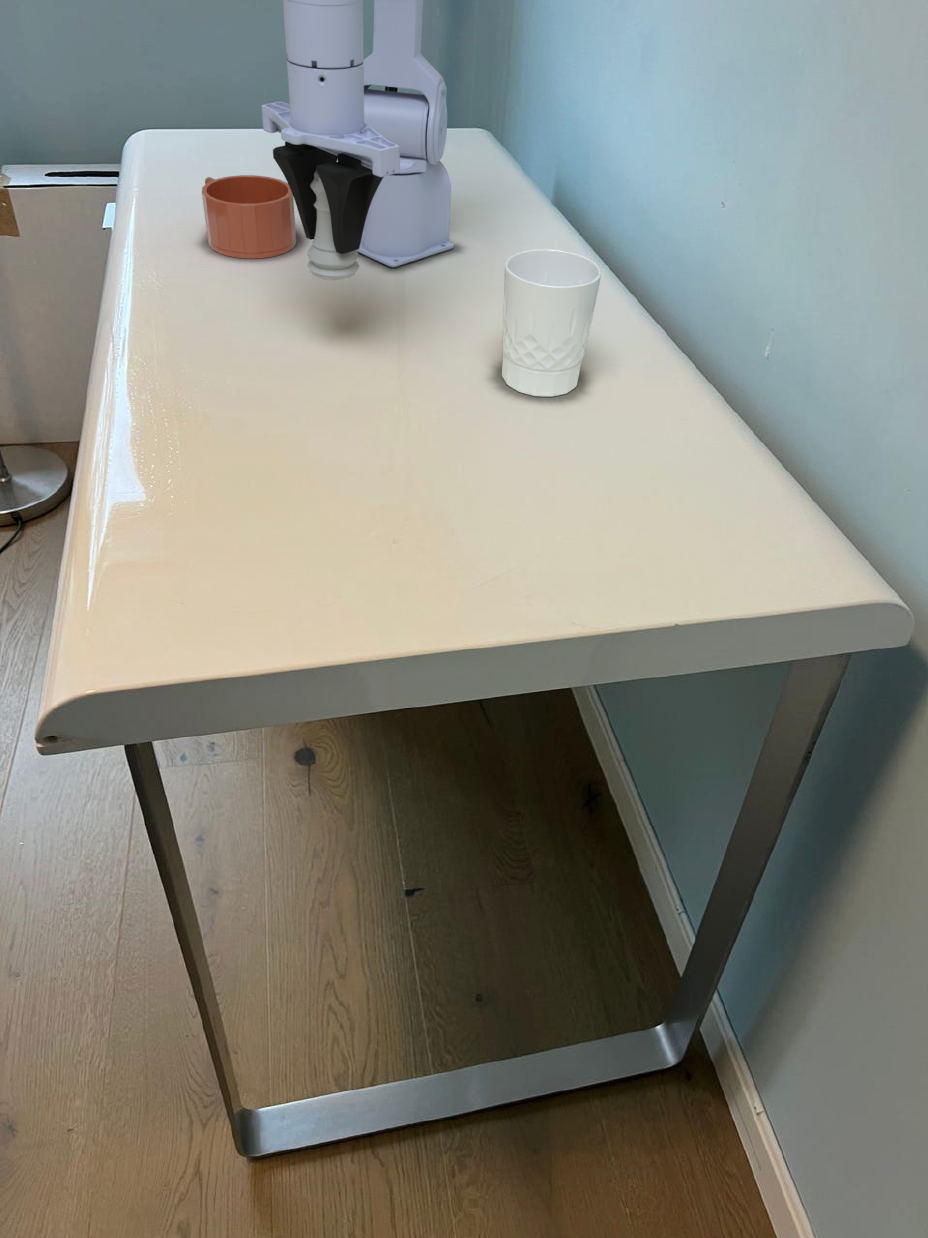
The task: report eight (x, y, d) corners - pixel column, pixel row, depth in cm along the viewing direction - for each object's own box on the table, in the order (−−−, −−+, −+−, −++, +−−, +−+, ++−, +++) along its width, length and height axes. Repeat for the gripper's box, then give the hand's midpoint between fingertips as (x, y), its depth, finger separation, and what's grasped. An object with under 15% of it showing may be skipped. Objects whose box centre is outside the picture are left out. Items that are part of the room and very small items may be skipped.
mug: (313, 245, 103) (310, 192, 99) (242, 265, 98) (236, 211, 94) (246, 212, 109) (241, 162, 106) (175, 230, 104) (168, 178, 100)
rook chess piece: (308, 260, 82) (302, 163, 77) (359, 261, 83) (357, 165, 77) (306, 281, 79) (300, 181, 74) (359, 282, 80) (357, 183, 74)
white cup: (579, 407, 80) (596, 292, 73) (488, 393, 81) (497, 279, 74) (588, 365, 86) (605, 255, 79) (503, 352, 86) (513, 243, 80)
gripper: (223, 46, 72) (241, 227, 81) (347, 89, 64) (352, 282, 74) (297, 36, 76) (306, 210, 85) (421, 75, 68) (417, 260, 78)
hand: (332, 242), depth 79 cm, fingers closed on rook chess piece, 3 cm apart
